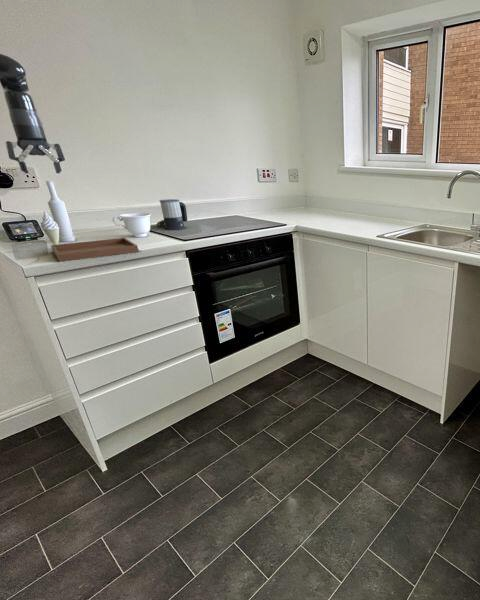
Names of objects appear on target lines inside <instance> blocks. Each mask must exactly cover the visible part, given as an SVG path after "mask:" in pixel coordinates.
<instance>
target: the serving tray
mask: <svg viewBox="0 0 480 600" xmlns="http://www.w3.org/2000/svg"><path fill="white" fill-rule="evenodd" d="M50 247H51V250H52V252H53V254H54V256H55V257H56V259H57V260H58V262H69V261H77V260H83V259H84V260H85V259H93V258H100V257H101V258H102V257H107V256H108V257H110V256H116V255H124V254H133V253H139V252H140V251H139V248H138V245H137V244H136V243H134V242H132V241H131V240H130V239H128V238H126V237H118V238H110V239H109V238H108V239H99V240H98V239H97V240H90V241H79V242H70V243H69V242H67V243H60V244H58V245H54V244H50Z"/></svg>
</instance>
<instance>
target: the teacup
mask: <svg viewBox="0 0 480 600" xmlns="http://www.w3.org/2000/svg"><path fill="white" fill-rule="evenodd" d="M151 216H152V214H151V213H147V212H135V213H134V212H133V213H123V214H120V215H119V216H117V215H115V216H113V217H112V223H113V224H114V225H116V226H117V227H121V228H124V229H125V230H126V231H127V232H128V233H130V234H132V237H133V238H143V237H147V236H148V233H149V232H150V231H151ZM117 219H118V220H119V222H123V223H124V224H119V223H118V222H116V220H117Z"/></svg>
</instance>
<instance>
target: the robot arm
mask: <svg viewBox="0 0 480 600" xmlns="http://www.w3.org/2000/svg"><path fill="white" fill-rule="evenodd" d="M0 86H1V88H2V90H3V96H4V100H5V103H6V106H7V109H8V114H9V119H10V122H11V124H12V128H13V131H14V134H15V137H16V141H10V140H6V141H5V143H4V144H5V147H6V150H7V155H8V158H9V159H10V160H12V161H15V162H17V163H18V165H19V168H20V171H21V172H23V173H24V174H29V171H28V167H27V163H26V162H25V160H26V158H27V157H28V156H40V157H44V156H46V157H47V158H48V159H50V160H51V161H52V164H53V167H54V170H55V173H56V174H61V172H62V167H61V164H60V163H61V162H65V161H66V158H65V156H64V153H63V150H62V147H61V145H60V144H59V143H49V142H48V140H47V137H46V134H45V130H44V127H43V122H42V120H41V117H40V115H39V113H38V109H37V107H36V102H35V100H34V98H33V96H32V94H31V92H30V88H29V85H28V80H27V71H26V68H25V67H24V65H23V64H22V62H20V61H18V60H17V59H15V58H14V57H11V56H9V55H6V54H2V53H0ZM16 146H17V147H19V148H20V149H21V152H20V154H19V156H16V154H15V150H14V149H16ZM50 148H52V150H53V151H55V152H56V156H57V157H56V156H54V155H53V154H52V153H51V152H50V151H49V150H50Z"/></svg>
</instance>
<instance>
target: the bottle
mask: <svg viewBox="0 0 480 600" xmlns="http://www.w3.org/2000/svg"><path fill="white" fill-rule="evenodd" d="M45 183H46V186H47V189H48V192H49V195H50V199H49V200H48V201H47V205H48V208H49V210H50V213H51V216H52V220H53V221H55V222H56V223H57V225H58V227H59V242H62V243H69V242H70V243H71V242H75V241H76V236H75V235H74V232H73V231H74V230H73V229H72V225H71V222H70V216H69V215H68V210H67V207H66V204H65V201H63V200H61V199H60V198H59V197H58V195H57V191H56V188H55V184H54V181H53V180H46V181H45Z"/></svg>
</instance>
